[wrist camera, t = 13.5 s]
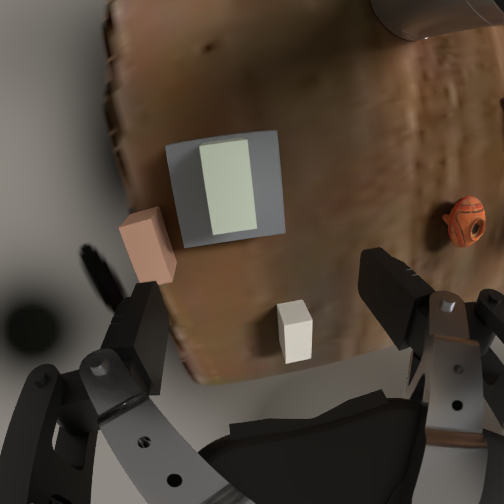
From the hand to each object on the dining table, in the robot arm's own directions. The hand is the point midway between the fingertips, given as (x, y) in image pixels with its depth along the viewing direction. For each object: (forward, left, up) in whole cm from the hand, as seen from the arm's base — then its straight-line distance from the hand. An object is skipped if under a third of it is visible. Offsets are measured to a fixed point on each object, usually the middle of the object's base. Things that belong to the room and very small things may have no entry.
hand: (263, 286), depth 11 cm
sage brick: (-1, -1, -16) cm, 16 cm away
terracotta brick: (+5, -10, -20) cm, 23 cm away
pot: (+7, +33, -21) cm, 39 cm away
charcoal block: (0, -1, -20) cm, 20 cm away
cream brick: (+20, +5, -20) cm, 29 cm away
